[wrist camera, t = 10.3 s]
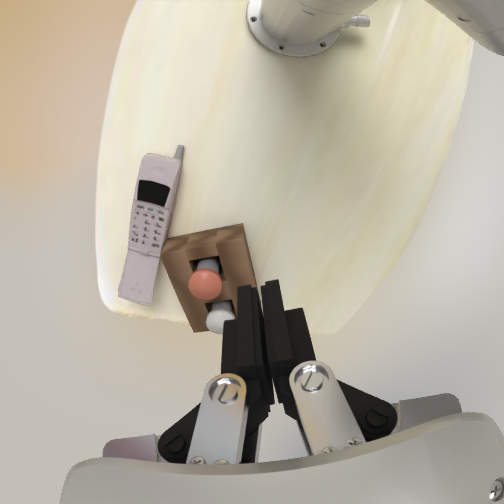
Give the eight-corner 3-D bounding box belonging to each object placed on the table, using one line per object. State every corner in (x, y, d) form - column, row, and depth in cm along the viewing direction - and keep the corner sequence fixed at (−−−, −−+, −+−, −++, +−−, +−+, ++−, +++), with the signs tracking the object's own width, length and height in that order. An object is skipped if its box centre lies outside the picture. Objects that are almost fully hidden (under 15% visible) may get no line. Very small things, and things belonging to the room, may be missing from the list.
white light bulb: (232, 282, 46) (231, 311, 39) (238, 302, 48) (237, 332, 42) (206, 286, 46) (202, 316, 40) (213, 305, 48) (210, 335, 42)
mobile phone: (117, 298, 41) (135, 143, 29) (127, 277, 46) (149, 137, 34) (151, 308, 42) (181, 154, 30) (158, 286, 47) (189, 146, 35)
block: (242, 223, 41) (243, 238, 37) (260, 303, 49) (262, 323, 45) (167, 238, 42) (160, 254, 38) (197, 313, 50) (194, 332, 46)
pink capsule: (220, 243, 41) (216, 271, 35) (227, 267, 43) (225, 297, 37) (192, 248, 41) (184, 276, 35) (200, 272, 43) (194, 301, 37)
